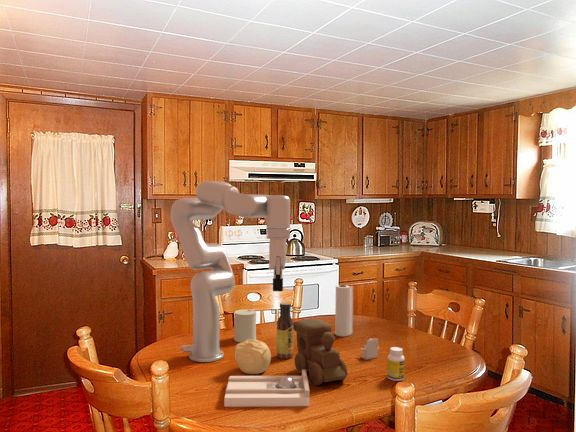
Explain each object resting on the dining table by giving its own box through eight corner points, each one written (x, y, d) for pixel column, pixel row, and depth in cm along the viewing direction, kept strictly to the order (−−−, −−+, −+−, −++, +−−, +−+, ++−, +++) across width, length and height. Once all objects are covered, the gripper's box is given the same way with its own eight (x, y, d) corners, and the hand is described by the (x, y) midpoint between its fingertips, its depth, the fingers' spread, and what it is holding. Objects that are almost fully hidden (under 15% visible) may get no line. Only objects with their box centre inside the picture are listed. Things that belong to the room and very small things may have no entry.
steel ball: (295, 390, 135) (279, 382, 135) (288, 400, 138) (273, 392, 138) (298, 377, 139) (283, 370, 140) (292, 387, 142) (278, 380, 142)
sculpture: (230, 374, 153) (230, 342, 153) (246, 362, 164) (246, 332, 164) (261, 379, 149) (261, 346, 149) (275, 367, 160) (276, 336, 160)
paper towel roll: (333, 336, 197) (334, 286, 196) (336, 332, 203) (337, 284, 202) (350, 337, 195) (351, 287, 194) (352, 333, 201) (353, 285, 200)
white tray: (224, 406, 129) (224, 390, 129) (229, 383, 145) (229, 369, 145) (309, 406, 130) (309, 390, 130) (305, 383, 146) (305, 369, 146)
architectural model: (360, 358, 171) (360, 338, 171) (373, 354, 175) (373, 335, 175) (366, 360, 168) (366, 340, 168) (380, 357, 172) (380, 337, 172)
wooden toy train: (290, 368, 159) (290, 321, 158) (318, 363, 164) (319, 317, 163) (319, 390, 141) (320, 337, 140) (350, 384, 146) (351, 332, 145)
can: (260, 338, 193) (260, 310, 192) (247, 344, 185) (247, 314, 185) (243, 334, 198) (243, 307, 197) (229, 340, 190) (229, 311, 190)
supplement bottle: (401, 382, 147) (401, 352, 147) (384, 379, 150) (385, 349, 150) (406, 377, 152) (406, 348, 152) (390, 373, 155) (391, 345, 154)
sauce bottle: (291, 360, 167) (291, 306, 166) (274, 358, 168) (275, 305, 168) (294, 354, 174) (295, 302, 173) (278, 353, 175) (278, 301, 174)
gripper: (266, 232, 154) (266, 286, 155) (266, 235, 140) (265, 295, 140) (289, 232, 155) (288, 286, 155) (290, 235, 140) (290, 295, 140)
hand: (277, 290), depth 148 cm, fingers closed
